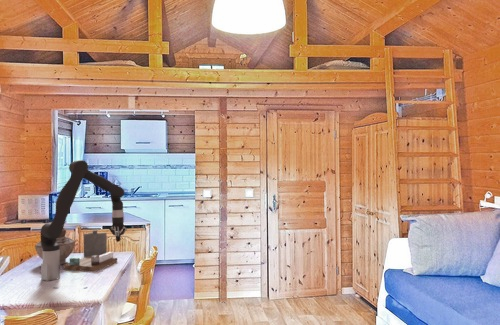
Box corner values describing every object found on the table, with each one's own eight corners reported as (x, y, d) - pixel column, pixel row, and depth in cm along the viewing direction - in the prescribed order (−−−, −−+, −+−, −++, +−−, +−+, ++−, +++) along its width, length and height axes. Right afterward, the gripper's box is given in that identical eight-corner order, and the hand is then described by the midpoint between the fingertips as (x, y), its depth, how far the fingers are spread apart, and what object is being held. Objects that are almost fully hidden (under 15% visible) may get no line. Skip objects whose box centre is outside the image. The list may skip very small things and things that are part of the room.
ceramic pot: (81, 263, 276) (80, 228, 276) (43, 270, 258) (42, 233, 258) (66, 257, 293) (66, 225, 293) (29, 264, 275) (29, 229, 275)
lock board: (117, 262, 278) (116, 251, 278) (94, 271, 254) (94, 260, 254) (88, 260, 284) (87, 250, 284) (63, 269, 260) (63, 258, 260)
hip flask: (107, 255, 298) (106, 229, 298) (106, 256, 294) (106, 229, 294) (84, 257, 294) (83, 230, 294) (83, 258, 290) (83, 231, 290)
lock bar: (96, 265, 257) (96, 257, 257) (89, 264, 258) (89, 256, 258) (114, 257, 277) (114, 250, 277) (108, 257, 278) (108, 250, 278)
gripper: (106, 216, 271) (106, 242, 271) (123, 217, 267) (123, 242, 268) (112, 215, 278) (112, 240, 278) (129, 215, 275) (129, 240, 275)
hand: (118, 241), depth 273 cm, fingers closed
